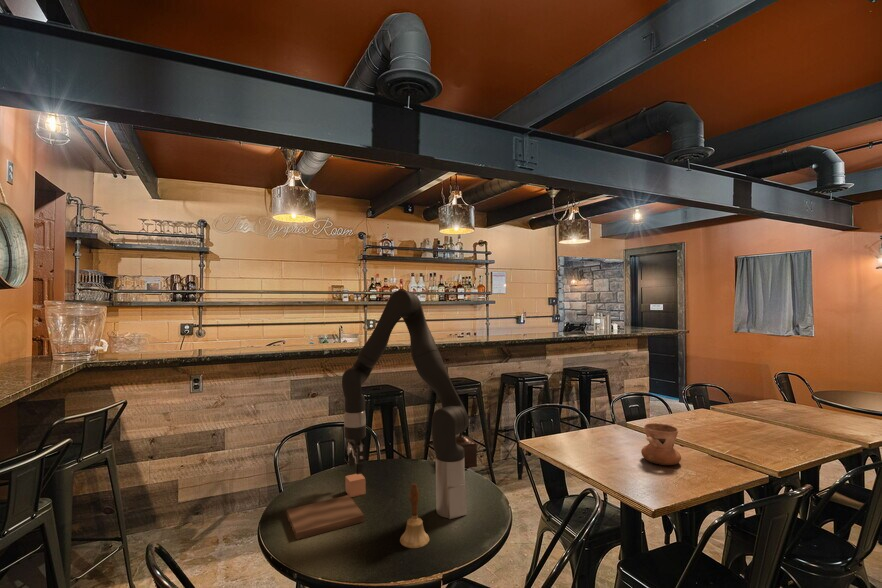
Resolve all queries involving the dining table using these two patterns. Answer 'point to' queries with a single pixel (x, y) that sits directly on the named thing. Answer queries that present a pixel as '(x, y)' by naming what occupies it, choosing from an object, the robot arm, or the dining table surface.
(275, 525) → the dining table surface
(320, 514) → the walnut board
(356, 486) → the terracotta cube
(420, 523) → the hand bell
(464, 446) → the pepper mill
